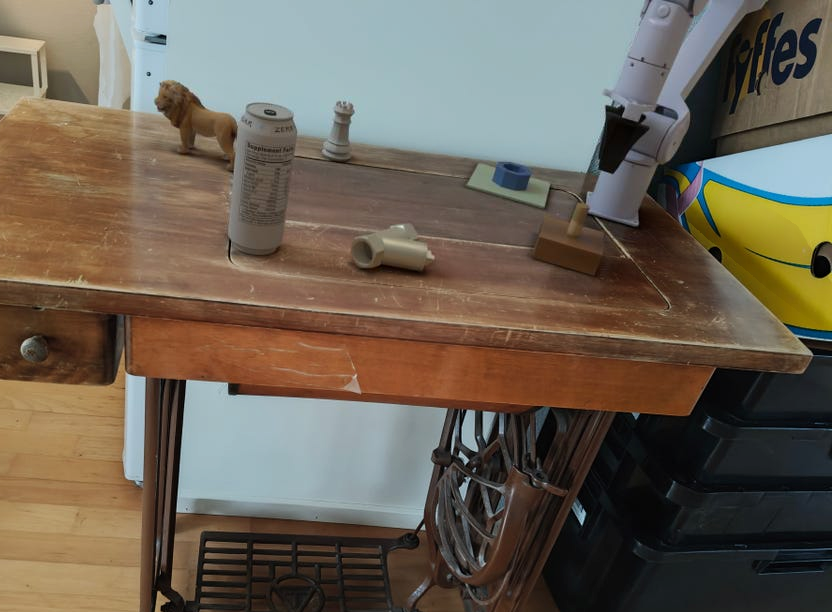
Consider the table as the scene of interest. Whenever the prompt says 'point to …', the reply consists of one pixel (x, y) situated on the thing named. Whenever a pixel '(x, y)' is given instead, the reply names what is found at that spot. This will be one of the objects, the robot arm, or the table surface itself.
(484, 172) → the mat
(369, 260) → the pipe fitting
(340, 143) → the rook chess piece
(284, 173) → the energy drink can
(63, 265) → the table surface
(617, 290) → the table surface
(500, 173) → the ring
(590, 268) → the dowel stand
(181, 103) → the lion figurine
